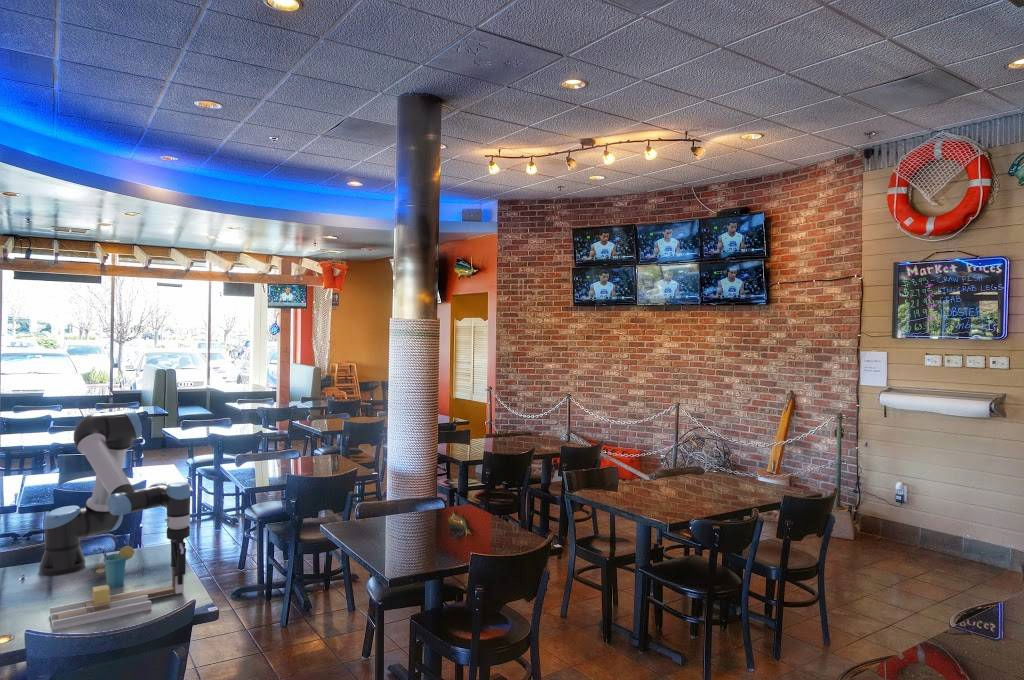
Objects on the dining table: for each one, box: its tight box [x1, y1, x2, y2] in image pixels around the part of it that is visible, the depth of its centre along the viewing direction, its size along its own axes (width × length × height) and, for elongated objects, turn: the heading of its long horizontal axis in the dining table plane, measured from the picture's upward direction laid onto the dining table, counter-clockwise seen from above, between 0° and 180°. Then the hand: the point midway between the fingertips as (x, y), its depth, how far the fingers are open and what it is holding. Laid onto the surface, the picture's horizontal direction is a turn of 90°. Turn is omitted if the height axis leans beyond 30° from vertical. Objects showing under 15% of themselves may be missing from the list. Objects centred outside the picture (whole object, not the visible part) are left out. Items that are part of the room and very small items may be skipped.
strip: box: [85, 567, 176, 607], centre depth 243 cm, size 4×30×8 cm, turn 127°
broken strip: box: [57, 604, 110, 620], centre depth 229 cm, size 4×14×2 cm, turn 127°
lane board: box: [49, 588, 152, 631], centre depth 234 cm, size 13×28×3 cm, turn 127°
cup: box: [90, 545, 135, 589], centre depth 257 cm, size 14×8×15 cm, turn 129°
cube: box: [92, 584, 111, 605], centre depth 237 cm, size 4×4×4 cm
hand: (177, 590), depth 251 cm, fingers closed on strip, 4 cm apart
